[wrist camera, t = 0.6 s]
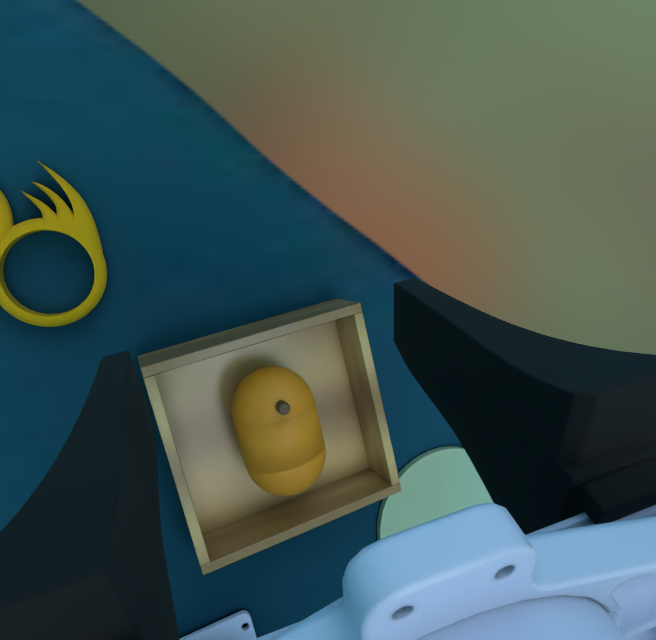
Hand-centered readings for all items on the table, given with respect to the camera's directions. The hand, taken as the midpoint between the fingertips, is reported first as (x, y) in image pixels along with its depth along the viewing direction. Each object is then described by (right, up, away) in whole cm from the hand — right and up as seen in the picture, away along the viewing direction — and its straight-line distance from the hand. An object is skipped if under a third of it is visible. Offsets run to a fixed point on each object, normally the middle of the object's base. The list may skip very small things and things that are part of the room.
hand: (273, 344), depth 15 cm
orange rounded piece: (-2, -6, +22) cm, 23 cm away
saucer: (+10, -14, +28) cm, 33 cm away
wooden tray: (-3, -6, +22) cm, 23 cm away
